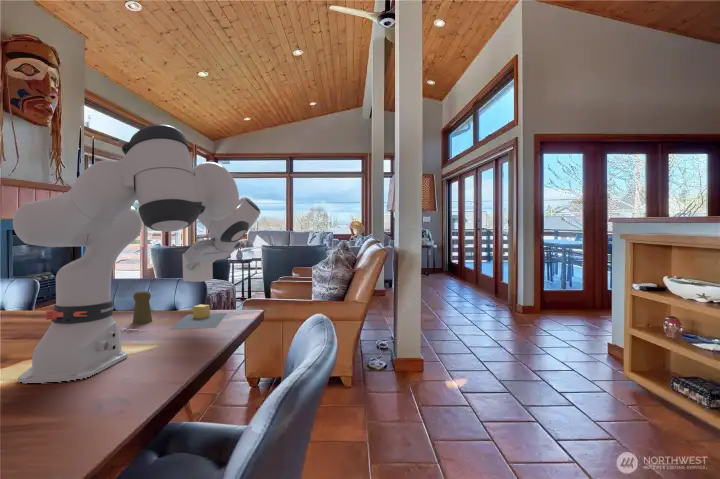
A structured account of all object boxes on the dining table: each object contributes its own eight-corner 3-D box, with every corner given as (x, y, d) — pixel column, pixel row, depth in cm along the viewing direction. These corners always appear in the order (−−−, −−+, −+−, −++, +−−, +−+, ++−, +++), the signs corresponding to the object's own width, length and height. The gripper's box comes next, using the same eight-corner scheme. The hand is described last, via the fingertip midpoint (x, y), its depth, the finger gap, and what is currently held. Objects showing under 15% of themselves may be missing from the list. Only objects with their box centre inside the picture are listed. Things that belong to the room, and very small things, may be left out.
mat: (215, 329, 128) (215, 327, 128) (169, 330, 126) (169, 329, 126) (226, 314, 150) (226, 313, 150) (187, 315, 147) (187, 314, 147)
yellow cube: (209, 315, 145) (209, 305, 145) (202, 318, 141) (202, 307, 141) (200, 315, 146) (200, 304, 146) (193, 317, 142) (192, 306, 142)
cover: (212, 279, 136) (212, 252, 135) (200, 281, 129) (200, 254, 129) (195, 278, 137) (195, 252, 137) (183, 281, 131) (182, 253, 130)
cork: (133, 322, 137) (132, 290, 137) (153, 320, 140) (152, 289, 139) (131, 326, 132) (131, 293, 131) (152, 324, 134) (151, 291, 134)
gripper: (209, 246, 120) (181, 277, 123) (244, 243, 140) (220, 270, 142) (195, 231, 121) (168, 263, 124) (233, 231, 141) (209, 258, 143)
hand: (196, 267), depth 133 cm, fingers closed on cover, 7 cm apart
